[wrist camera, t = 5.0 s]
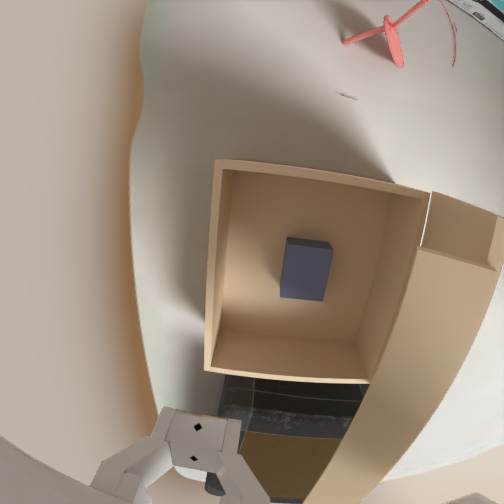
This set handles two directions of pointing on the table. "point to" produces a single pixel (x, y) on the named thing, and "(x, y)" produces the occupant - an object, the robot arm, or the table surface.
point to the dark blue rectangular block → (305, 269)
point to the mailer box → (339, 281)
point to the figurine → (392, 34)
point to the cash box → (287, 430)
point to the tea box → (485, 13)
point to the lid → (420, 346)
